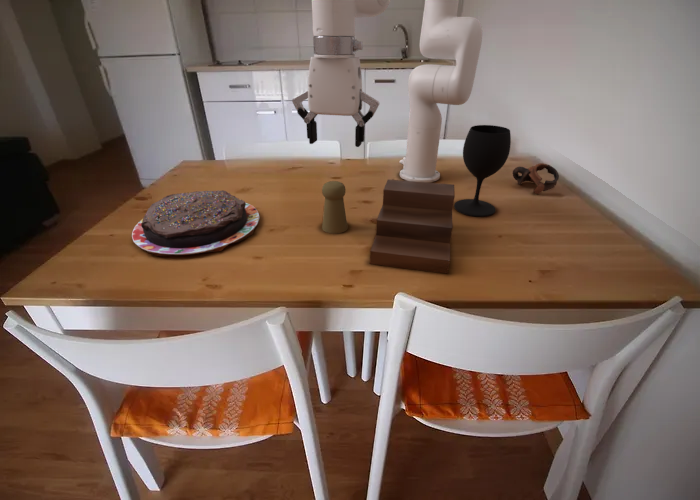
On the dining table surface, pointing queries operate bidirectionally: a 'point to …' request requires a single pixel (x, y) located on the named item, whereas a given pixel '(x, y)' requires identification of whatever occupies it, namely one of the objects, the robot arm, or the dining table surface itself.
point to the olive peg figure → (334, 208)
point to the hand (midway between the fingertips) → (335, 143)
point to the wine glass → (483, 163)
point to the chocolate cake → (195, 223)
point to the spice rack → (414, 226)
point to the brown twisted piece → (536, 176)
